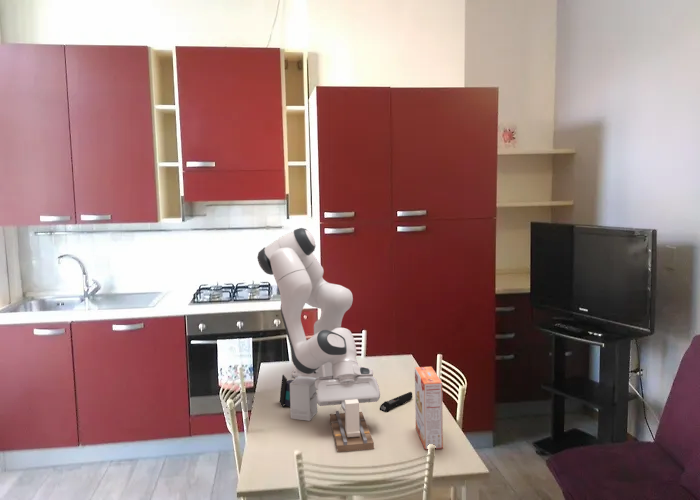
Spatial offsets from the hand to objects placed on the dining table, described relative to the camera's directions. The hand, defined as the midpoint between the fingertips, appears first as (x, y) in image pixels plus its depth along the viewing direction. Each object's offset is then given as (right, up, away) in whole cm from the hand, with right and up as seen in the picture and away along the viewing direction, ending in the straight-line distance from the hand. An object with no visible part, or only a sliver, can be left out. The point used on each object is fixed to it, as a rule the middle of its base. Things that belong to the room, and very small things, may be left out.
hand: (350, 416), depth 166 cm
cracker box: (+24, -7, -1) cm, 25 cm away
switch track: (0, -6, +3) cm, 7 cm away
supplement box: (-16, -5, +17) cm, 24 cm away
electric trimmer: (+16, -4, +25) cm, 30 cm away
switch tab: (+1, -5, -2) cm, 5 cm away
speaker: (-22, -4, +27) cm, 35 cm away
